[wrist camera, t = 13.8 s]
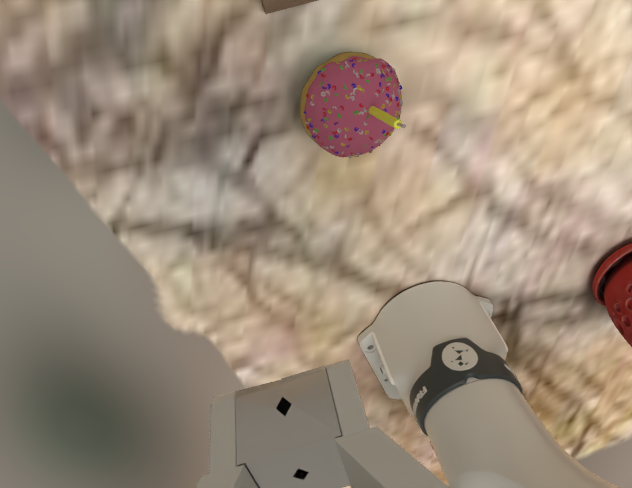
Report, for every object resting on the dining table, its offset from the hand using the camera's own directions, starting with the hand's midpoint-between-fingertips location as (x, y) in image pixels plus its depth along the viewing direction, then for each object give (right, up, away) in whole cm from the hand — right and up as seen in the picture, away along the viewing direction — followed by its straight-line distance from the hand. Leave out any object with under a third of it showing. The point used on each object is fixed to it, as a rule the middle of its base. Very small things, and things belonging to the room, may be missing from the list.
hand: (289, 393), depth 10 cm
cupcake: (+3, +17, +31) cm, 36 cm away
